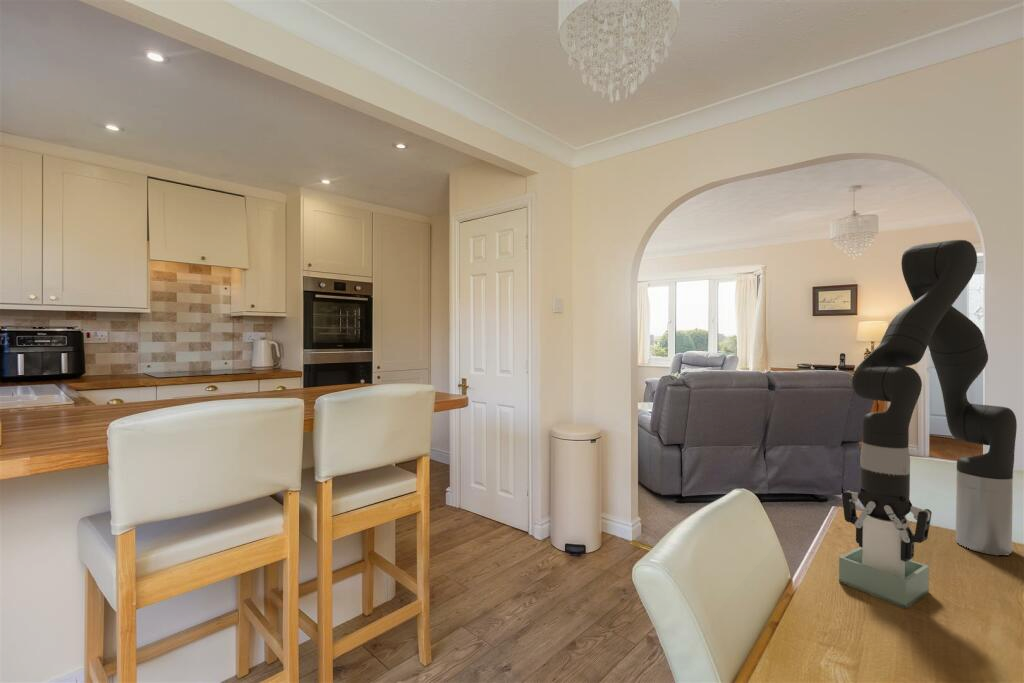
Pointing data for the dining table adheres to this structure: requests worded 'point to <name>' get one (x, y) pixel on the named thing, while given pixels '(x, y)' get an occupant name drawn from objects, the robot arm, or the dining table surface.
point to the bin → (884, 579)
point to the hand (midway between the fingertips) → (883, 552)
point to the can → (882, 546)
